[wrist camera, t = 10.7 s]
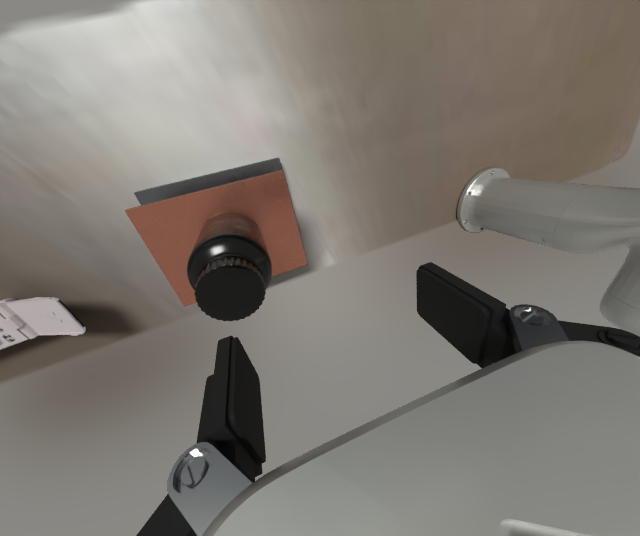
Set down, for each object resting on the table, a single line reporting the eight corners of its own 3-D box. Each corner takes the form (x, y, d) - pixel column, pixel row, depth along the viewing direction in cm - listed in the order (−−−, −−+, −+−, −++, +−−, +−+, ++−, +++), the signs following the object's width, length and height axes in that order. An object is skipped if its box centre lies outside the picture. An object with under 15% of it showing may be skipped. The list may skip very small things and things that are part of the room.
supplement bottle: (257, 271, 29) (270, 333, 19) (197, 264, 27) (174, 332, 16) (267, 218, 27) (288, 256, 17) (202, 205, 24) (179, 241, 14)
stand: (277, 157, 32) (289, 158, 25) (301, 248, 39) (316, 268, 32) (137, 191, 29) (106, 203, 22) (190, 284, 36) (179, 315, 29)
